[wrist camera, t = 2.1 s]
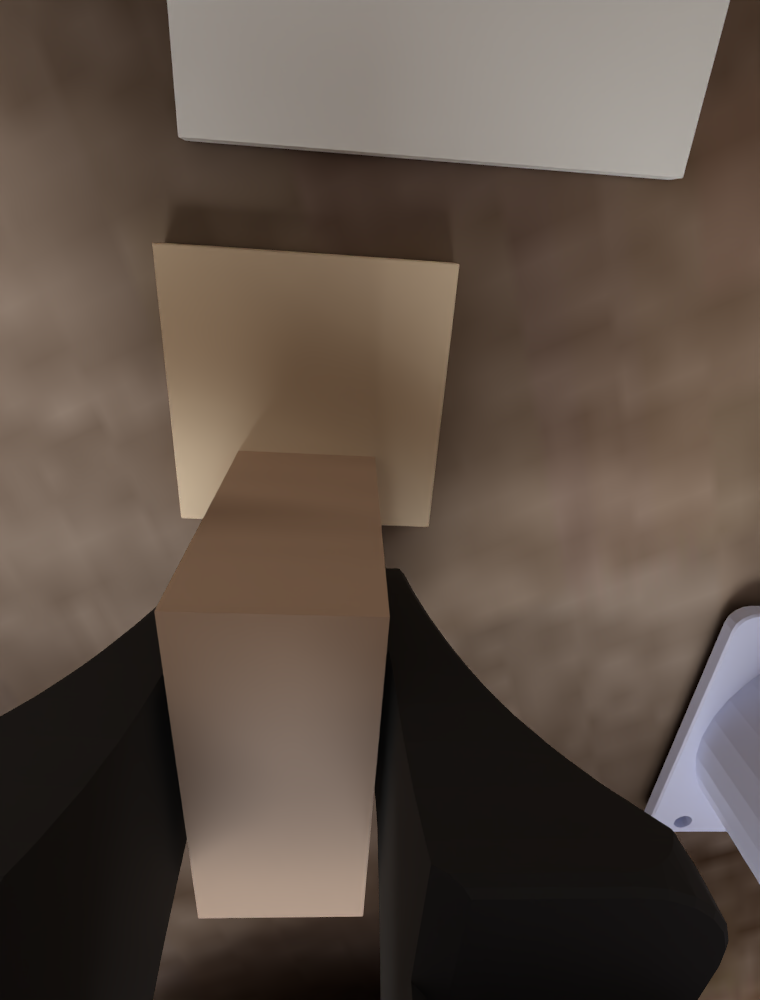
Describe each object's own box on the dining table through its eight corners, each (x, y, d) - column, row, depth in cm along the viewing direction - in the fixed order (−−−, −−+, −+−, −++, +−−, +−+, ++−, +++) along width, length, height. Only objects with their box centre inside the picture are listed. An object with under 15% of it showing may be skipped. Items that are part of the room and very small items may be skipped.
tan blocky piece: (406, 671, 14) (436, 915, 9) (205, 667, 14) (120, 919, 9) (453, 262, 10) (557, 296, 5) (163, 242, 9) (-50, 256, 4)
